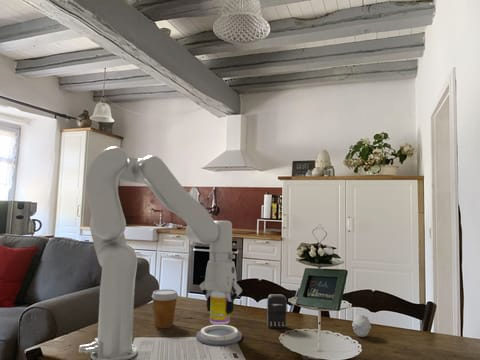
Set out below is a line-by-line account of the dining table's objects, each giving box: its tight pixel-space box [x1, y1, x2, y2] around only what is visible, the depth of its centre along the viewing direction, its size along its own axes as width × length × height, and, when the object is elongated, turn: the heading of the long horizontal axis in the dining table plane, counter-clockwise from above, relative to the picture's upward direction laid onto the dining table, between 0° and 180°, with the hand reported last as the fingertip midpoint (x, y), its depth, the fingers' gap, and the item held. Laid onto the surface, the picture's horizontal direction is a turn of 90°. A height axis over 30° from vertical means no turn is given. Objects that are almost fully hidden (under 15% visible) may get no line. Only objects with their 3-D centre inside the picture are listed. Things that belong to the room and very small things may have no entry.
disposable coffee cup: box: [151, 288, 179, 329], centre depth 129 cm, size 10×10×12 cm
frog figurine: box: [351, 313, 372, 338], centre depth 121 cm, size 6×7×7 cm
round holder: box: [196, 324, 243, 347], centre depth 117 cm, size 15×15×2 cm
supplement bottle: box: [209, 287, 231, 325], centre depth 118 cm, size 7×7×13 cm
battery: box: [266, 294, 288, 329], centre depth 129 cm, size 7×4×11 cm, turn 89°
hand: (219, 311), depth 118 cm, fingers closed on supplement bottle, 6 cm apart
